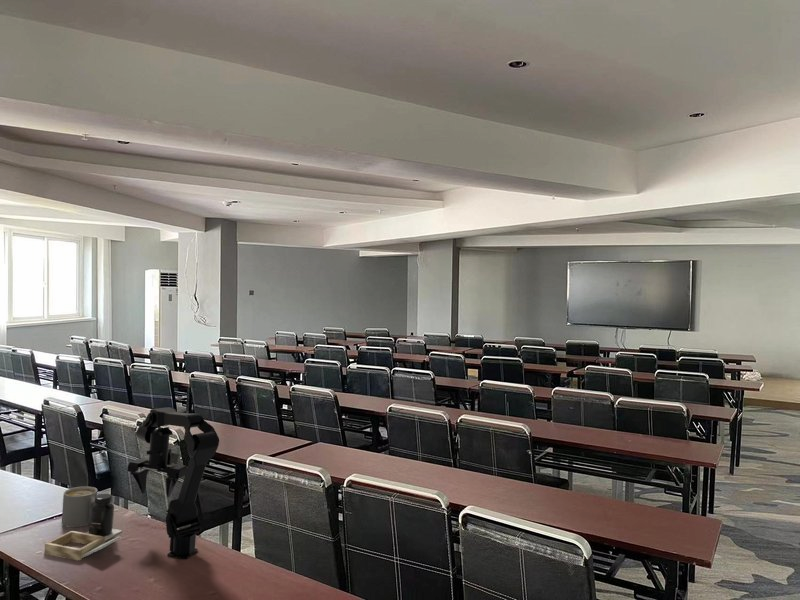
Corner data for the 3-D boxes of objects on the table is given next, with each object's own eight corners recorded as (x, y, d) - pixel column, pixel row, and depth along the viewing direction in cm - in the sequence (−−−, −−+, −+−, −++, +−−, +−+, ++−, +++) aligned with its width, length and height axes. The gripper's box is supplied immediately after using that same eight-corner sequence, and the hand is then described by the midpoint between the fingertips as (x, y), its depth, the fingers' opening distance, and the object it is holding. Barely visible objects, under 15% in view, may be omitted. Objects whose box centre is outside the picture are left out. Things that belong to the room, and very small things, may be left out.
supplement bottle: (89, 539, 179) (91, 501, 179) (87, 531, 185) (90, 493, 185) (113, 535, 183) (116, 498, 183) (111, 527, 188) (113, 491, 188)
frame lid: (121, 550, 174) (122, 535, 174) (100, 562, 165) (101, 546, 165) (100, 546, 175) (101, 531, 175) (79, 558, 167) (80, 542, 167)
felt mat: (121, 531, 187) (122, 530, 187) (101, 542, 178) (101, 541, 178) (98, 527, 189) (98, 526, 189) (77, 538, 180) (77, 536, 180)
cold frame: (104, 546, 176) (104, 536, 176) (79, 560, 166) (79, 550, 166) (70, 540, 178) (71, 530, 178) (44, 553, 169) (44, 543, 169)
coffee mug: (54, 522, 190) (56, 492, 190) (82, 513, 199) (84, 484, 199) (82, 531, 185) (84, 500, 185) (109, 521, 194) (111, 492, 194)
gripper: (199, 444, 192) (195, 491, 192) (149, 437, 196) (146, 483, 196) (179, 452, 181) (175, 502, 181) (127, 445, 185) (124, 493, 185)
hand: (156, 494), depth 186 cm, fingers open, 9 cm apart
